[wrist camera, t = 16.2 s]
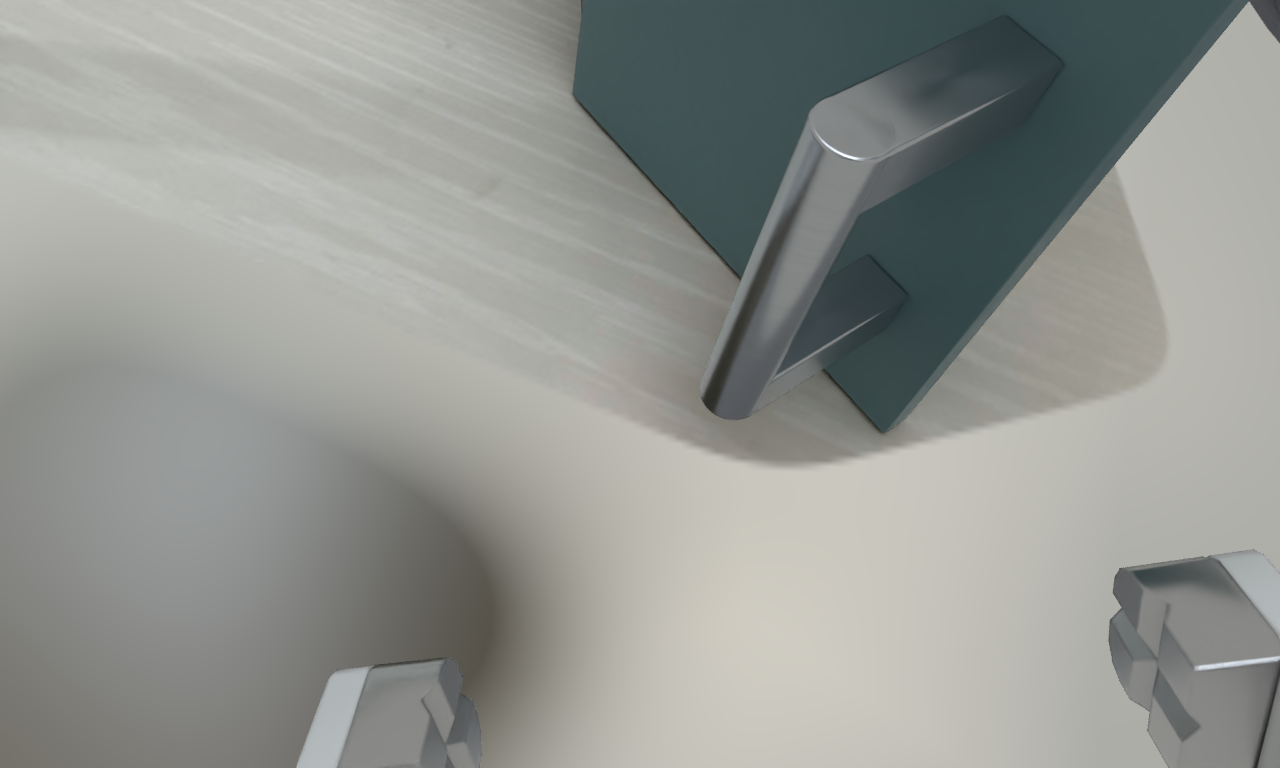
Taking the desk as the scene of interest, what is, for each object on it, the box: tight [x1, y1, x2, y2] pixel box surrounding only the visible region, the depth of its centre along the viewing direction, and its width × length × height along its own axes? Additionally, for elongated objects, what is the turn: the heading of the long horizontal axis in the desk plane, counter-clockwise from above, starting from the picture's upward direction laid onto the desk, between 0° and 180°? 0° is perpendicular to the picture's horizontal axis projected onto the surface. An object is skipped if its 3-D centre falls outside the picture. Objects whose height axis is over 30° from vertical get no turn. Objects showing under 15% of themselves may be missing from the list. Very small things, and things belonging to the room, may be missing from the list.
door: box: [573, 0, 1249, 433], centre depth 22 cm, size 7×16×16 cm, turn 37°
